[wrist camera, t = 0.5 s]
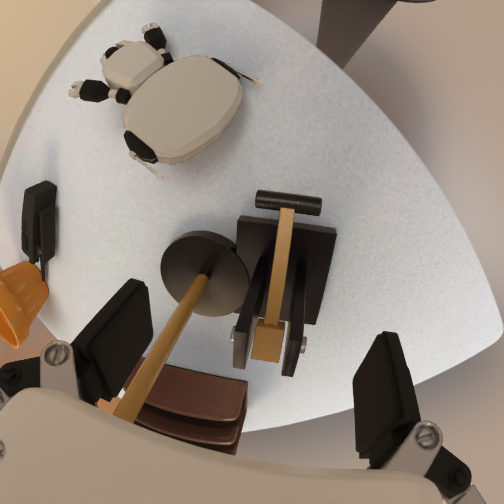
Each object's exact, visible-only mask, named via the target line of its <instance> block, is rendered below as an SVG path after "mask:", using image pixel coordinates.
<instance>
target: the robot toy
mask: <svg viewBox="0 0 504 504" xmlns="http://www.w3.org/2000/svg"><path fill="white" fill-rule="evenodd" d="M150 26H151V27H149V28H148V26H147V25H145V26H143V28H142V33H143V34H144V39H145V41H146V43H145V42H141V41H138V42H131V41H125V40H124V41H121V42H118V43H116V46H117V47H111V48H109V49H108V50H107V51H106V52H105V54H103V55H102V57H101V59H100V61H101V63H102V66H103V70H102V72H103V74H104V77H105V79H106V81H107V83H108V86H109V87H108V86H107V85H106V84H104V83H103V82H102V81H97V80H87V79H86V80H85V81H84V82H83V81H77V82H74V83H73V84H72V86H71V87H72V89H70V90H69V96H71V97H73V98H77V97H80V99H82V100H84V101H91V102H101V101H103V100H106V99H108V98H116V102H118V103H121V104H127V105H126V107H125V110H124V114H123V118H122V120H123V123H124V126H125V129H126V131H125V134H124V138H125V141H126V144H127V146H128V148H129V149H130V153H129V155H130V156H131V157H132V158H133V159H134V160H138V161H139V162H140V163H141V164H143V165H144V166H145V167H146V168H148V169H149V170H150V171H151V172H153V173H154V174H155V175H156V176H157V177H158V178H159V179H160V180H163V181H165V179H164V177H163V176H162V175H161V174H160V173H157V172H156V171H155V170H154V169H152V168H151V167H150V166H148V165H147V164H146V163H145V162H149V163H152V164H155V163H156V162H158V161H159V162H163V163H166V164H170V165H171V164H176V163H180V162H183V161H186V160H188V159H190V158H191V157H193V156H195V155H196V154H198V153H200V152H201V151H202V150H204V149H205V148H206V147H208V146H209V145H210V144H212V143H213V142H214V141H216V140H217V139H219V137H220V136H221V134H222V133H223V132H224V130H225V129H226V128H227V126H228V125H229V124H230V122H231V121H232V119H233V117H234V116H235V114H236V112H237V109H238V107H239V105H240V102H241V100H242V95H243V87H242V85H241V84H240V82H239V79H240V77H239V75H241V76H243V77H245V78H247V79H249V80H251V81H252V82H254V83H255V84H256V85H258V86H263V84H262V83H261V81H259V80H257V79H254V78H252V77H250V76H248V75H247V74H245V73H243V72H241V71H239V70H237V69H235V68H233V66H232V65H230V64H225V63H224V62H222V61H220V60H218V59H216V58H209V57H207V56H199V55H196V56H189V57H184V58H181V59H179V60H177V61H173V59H172V57H171V54H170V52H168V53H166V52H165V46H166V42H167V41H166V39H165V37H164V34H163V32H162V30H161V28H160V27H159V26H158V25H157V24H156V23H150ZM237 73H238V74H239V75H238V74H237ZM143 161H145V162H143Z"/></svg>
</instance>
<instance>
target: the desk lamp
mask: <svg viewBox="0 0 504 504" xmlns="http://www.w3.org/2000/svg"><path fill="white" fill-rule="evenodd" d="M161 276H162V280H163V283H164V285H165V287H166V289H167V290H168V292H169V293H170V295H171V296H172V297H173V298H174V299H175V300H176V301H177V302H178V303H179V305H178V307H177V308H176V310H175V311H174V313H173V314H172V316H171V318H170V319H169V321H168V322H167V324H166V326H165V327H164V329H163V331H162V332H161V334H160V335H159V337H158V339H157V340H156V342H155V344H154V345H153V347H152V348H151V350H150V352H149V353H148V355H147V357H146V358H145V360H144V362H143V363H142V365H141V367H140V368H139V370H138V372H137V373H136V375H135V377H134V378H133V380H132V382H131V384H130V385H129V387H128V389H127V390H126V392H125V394H124V396H123V397H122V399H121V401H120V402H119V404H118V406H117V408H116V409H115V411H114V413H113V415H114V416H116V417H119V418H121V419H123V420H126V421H128V422H130V423H134V421H135V419H136V418H137V416H138V414H139V412H140V410H141V408H142V406H143V404H144V402H145V400H146V398H147V396H148V394H149V392H150V391H151V389H152V387H153V385H154V383H155V381H156V379H157V377H158V375H159V374H160V372H161V370H162V368H163V366H164V364H165V362H166V360H167V359H168V357H169V355H170V353H171V351H172V349H173V347H174V346H175V344H176V342H177V340H178V338H179V336H180V334H181V333H182V331H183V329H184V327H185V325H186V323H187V322H188V320H189V318H190V316H191V314H192V313H193V312H194V313H197V314H200V315H204V316H214V317H216V316H224V315H227V314H230V313H232V312H234V311H236V310H237V309H239V308H240V307H241V306H242V305H243V303H244V300H245V297H246V295H247V292H248V289H249V286H250V281H249V275H248V272H247V269H246V267H245V265H244V264H243V262H242V260H241V259H240V258H239V257H238V255H237V254H236V244H235V243H233V242H232V241H231V240H229V239H227V238H226V237H224V236H222V235H220V234H217V233H214V232H210V231H192V232H188V233H185V234H183V235H181V236H179V237H178V238H177V239H175V240H174V241H173V242H172V243H171V245H170V246H169V247H168V248H167V249H166V251H165V252H164V254H163V256H162V260H161Z"/></svg>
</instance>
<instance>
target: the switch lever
mask: <svg viewBox="0 0 504 504" xmlns="http://www.w3.org/2000/svg"><path fill="white" fill-rule="evenodd" d="M255 207H256V208H261V209H269V210H277V211H280V216H279V223H278V231H277V238H276V246H275V253H274V260H273V267H272V274H271V281H270V288H269V295H268V301H267V308H266V315H265V319H262V318H259V320H258V323H257V325H256V329H255V336H254V342H253V349H252V355H251V359H256V360H262V361H269V362H275V363H279V359H280V353H281V348H282V342H283V337H284V331H285V322H281V321H279V317H280V311H281V305H282V298H283V292H284V285H285V279H286V272H287V265H288V258H289V251H290V244H291V237H292V229H293V221H294V214H295V213H299V214H306V215H313V216H320V213H321V207H322V198H319V197H312V196H305V195H298V194H290V193H283V192H274V191H266V190H257V193H256V199H255Z"/></svg>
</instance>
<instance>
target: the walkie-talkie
mask: <svg viewBox="0 0 504 504" xmlns="http://www.w3.org/2000/svg"><path fill="white" fill-rule="evenodd" d="M55 196H56V186H55V185H53V184H52V183H50V182H49V181H47V180H46V181H43V182H41V183H39V184H36V185H34V186H32V187H29V188H27V189H26V190H25V193H24V201H23V210H22V250H23V252H24V253H25V254H26V255H27V256H28V257H29V262H30V263H31V264H35V263H36V262H39V257H40V264H41V276H42V281H43V282H45V263H46V262H47V261H49V260H50V259H51V258H52V257H54V255H55Z"/></svg>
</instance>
